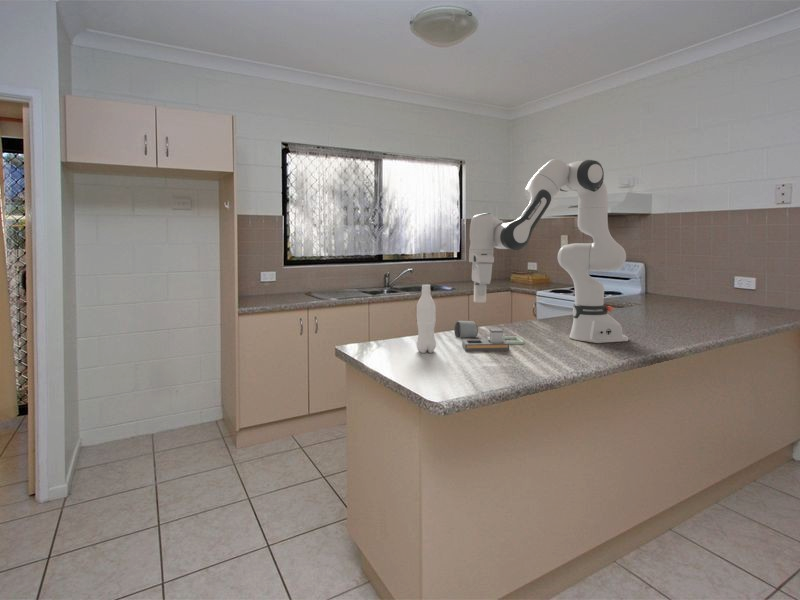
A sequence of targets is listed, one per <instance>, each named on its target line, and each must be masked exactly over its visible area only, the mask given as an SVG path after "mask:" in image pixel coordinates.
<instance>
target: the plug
mask: <svg viewBox="0 0 800 600" xmlns="http://www.w3.org/2000/svg"><path fill="white" fill-rule="evenodd" d="M487 285H488V284H485V290H484V296H480V295H479V283H476V282H473V302H474V303H486V302H487V287H488V286H487Z"/></svg>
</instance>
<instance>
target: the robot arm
mask: <svg viewBox="0 0 800 600" xmlns="http://www.w3.org/2000/svg"><path fill="white" fill-rule="evenodd" d="M604 174H605V173H604V168H603V166H602V164H601V163H600V162H599V161H598V160H594V159H586V160H578V161H577V160H576V161H572V162H570V163H566V161H564V160H563V159H560V158H552V159H550V160H548V161H547V162H545V164H544V165H542V166H541V167H540V168H539V169H538V170H537V171H536V172H535V174H534V175H533V176H532V177H531V178H530V179H529V181H528V182H527V184H526V187H525V188H524V195H525V198H526V200H527V201H528V202H529V203H528V205H526V207H525V209H524V210H523V212H522V213H521V215H520V216H519V217H518V218H517V219H514V220H513V221H510V222H509V221H508V222H504V221H502V220H501V219H499V218H497V217H496V216H494V214H493V213H491V212H486V213H479V214H475V215H474V216H473V217H472V218H471V220H470V226H469V241H470V242H469V243H470V244H469V251H468V262H469V263H472V266H471V281H472V282H473V283H479V295H480V296H484V290H485V284H487V285H490V284H491V281H492V274H493V273H492V272H493V263H494V262H495V256H494V248H496V249H499V250H514V251H519V250H521V249H524V248H525V247H526V246H527V245H528V243H529V241H530V239H531V236H532V234H533V230H534V228H536V226H537V224H538V222H539V221H540V219H541V218H542V217H543V215H544V214H545V212H546V211H547V209H548V208H549V206H550V204H551V201H552V200H553V199H554V198H555V196H556V195H557V194H559V193H558V192H559V191H560V192H577V196H578V203H577V205H578V206H577V208H578V209H577V228H578V230H579V231H580V232H581V233H583V234H585V235H587V236H589V237H591V238H592V241H593V242H591V243H590V242H588V243H587V242H585V243H583V242H581V243H580V242H579V243H578V242H577V243H576V242H575V243H568V244H564V245H562V246H561V247H560V249H559V250H558V253H557V262H558V264H559V266H560V267H561V268H562V269H563V270H565V271H566V272H567V273H568V274H569V276H570V278H571V280H572V282H573V287H574V303H573V306H572V307H573V308H572V316H573V318H572V326H571V330H570V334H569V338H570V339H572V340H575V341H582V342H589V343H595V344H602V343H603V344H605V343H616V342H617V343H618V342H629V337H628V336H627V335H625V334H623V327H622V325H621V323H620V322H618V320H616V319H614V317H612V316H611V315H610V314H609V313H608V312H611V313H612V311H613V307H612V306H609V305H608V306H607V305H606V304H604V301H605V299H604V297H605V287H604V284H603V283H601V281H599V280H597V279H596V278H593V277H592V276H591V275H590V273H589V271H594V272H595V271H601V272H604V271H605V272H606V271H607V272H609V271H615V270H620V269H621V268H622V267H623V266H624V265H625V263H626V260H627V254H626V253H627V252H626V250H625V248H624V247H623V246H622V245H621V244H619V243H618V242H617V241H616V240H615V238H613V236H612V235H611V233H610V229H609V222H608V216H609V215H608V214H609V213H608V209H609V208H608V207H609V198H608V190H607V189H608V187H607V185H606V183H605V182H604V179H605V178H604V176H605V175H604Z"/></svg>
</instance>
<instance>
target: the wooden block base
mask: <svg viewBox="0 0 800 600" xmlns="http://www.w3.org/2000/svg"><path fill="white" fill-rule="evenodd" d="M461 342H462V343H461V344H462V345H461V347H462V349H464V351H465V352H496V351H497V352H502V351H503V352H504V351H508V352H509V351H510V344H509V343H508V342H509V341H507V339H503V343H490V339H488V338H486V339H485V338H484V339H483V338H482V339H462V340H461Z"/></svg>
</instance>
